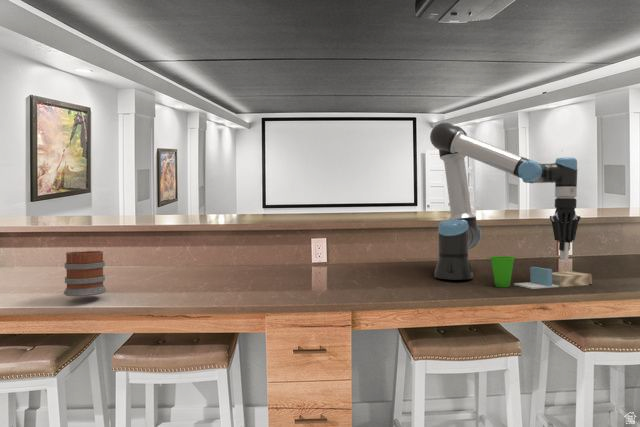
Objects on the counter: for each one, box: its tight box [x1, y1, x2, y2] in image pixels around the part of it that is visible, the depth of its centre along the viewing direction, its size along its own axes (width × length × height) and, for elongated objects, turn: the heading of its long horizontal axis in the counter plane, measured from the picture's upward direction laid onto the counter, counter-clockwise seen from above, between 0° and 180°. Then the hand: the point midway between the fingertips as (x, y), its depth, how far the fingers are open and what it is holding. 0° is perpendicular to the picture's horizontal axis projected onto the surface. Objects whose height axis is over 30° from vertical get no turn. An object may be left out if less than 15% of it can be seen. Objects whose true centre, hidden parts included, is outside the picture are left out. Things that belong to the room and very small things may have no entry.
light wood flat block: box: [552, 270, 593, 288], centre depth 192 cm, size 15×10×4 cm, turn 108°
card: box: [529, 266, 553, 286], centre depth 188 cm, size 6×9×2 cm
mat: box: [513, 281, 560, 290], centre depth 188 cm, size 12×10×1 cm
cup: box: [489, 255, 516, 288], centre depth 188 cm, size 9×9×11 cm
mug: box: [63, 250, 107, 297], centre depth 182 cm, size 14×19×15 cm
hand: (564, 259), depth 192 cm, fingers closed
